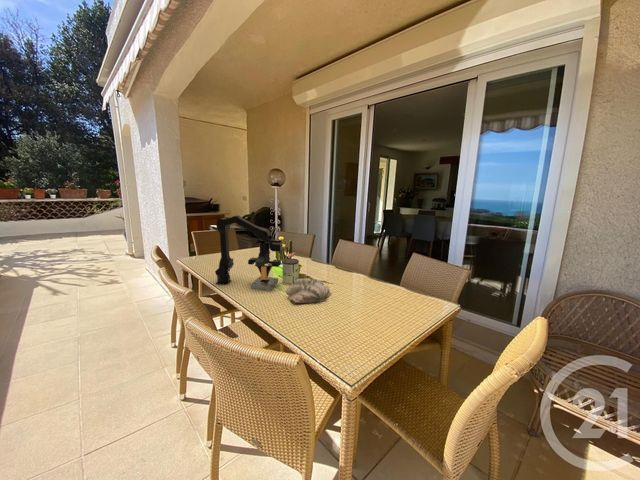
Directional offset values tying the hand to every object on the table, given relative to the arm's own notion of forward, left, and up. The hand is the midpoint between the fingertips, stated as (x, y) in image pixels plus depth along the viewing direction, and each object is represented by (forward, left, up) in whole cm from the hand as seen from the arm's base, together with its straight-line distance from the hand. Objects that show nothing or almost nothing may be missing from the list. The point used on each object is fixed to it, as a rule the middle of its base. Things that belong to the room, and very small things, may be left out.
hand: (264, 275), depth 152 cm
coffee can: (+13, +10, -6) cm, 18 cm away
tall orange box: (0, 0, -2) cm, 2 cm away
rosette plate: (0, 0, -6) cm, 6 cm away
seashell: (+30, -8, -7) cm, 32 cm away
